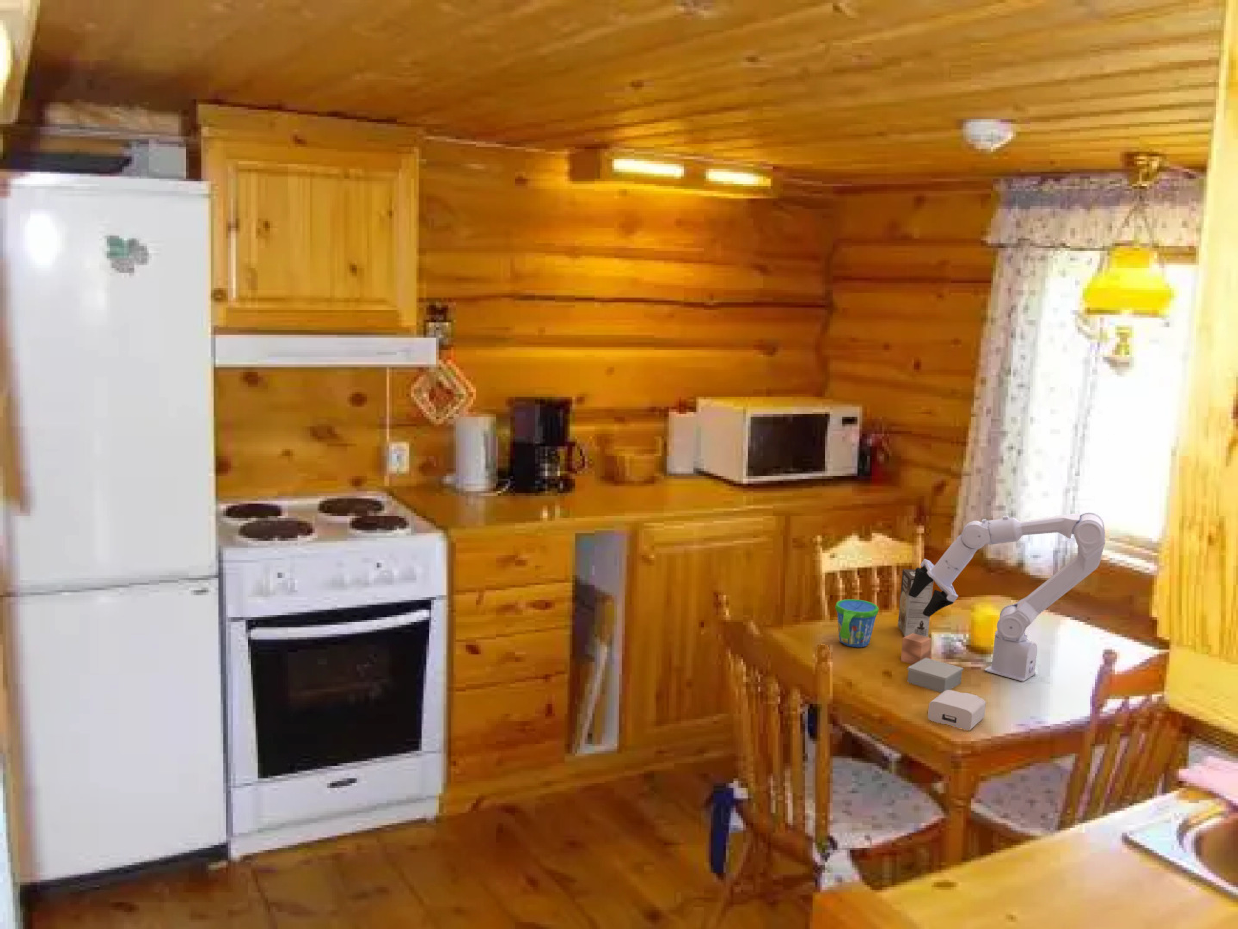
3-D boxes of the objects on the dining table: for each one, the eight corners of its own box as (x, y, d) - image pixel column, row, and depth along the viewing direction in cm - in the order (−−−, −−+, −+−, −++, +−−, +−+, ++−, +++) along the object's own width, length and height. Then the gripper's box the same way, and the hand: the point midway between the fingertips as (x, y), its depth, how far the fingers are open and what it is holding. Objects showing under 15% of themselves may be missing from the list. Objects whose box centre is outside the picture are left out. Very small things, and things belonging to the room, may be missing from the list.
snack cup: (859, 656, 274) (862, 616, 272) (820, 646, 281) (823, 607, 279) (886, 641, 286) (889, 603, 284) (849, 631, 293) (852, 594, 291)
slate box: (961, 684, 259) (963, 668, 258) (944, 695, 252) (945, 678, 251) (924, 673, 265) (925, 657, 264) (906, 683, 258) (907, 667, 257)
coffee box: (896, 626, 299) (901, 568, 296) (920, 627, 299) (925, 569, 296) (904, 637, 290) (909, 578, 287) (929, 638, 290) (934, 579, 287)
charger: (993, 711, 243) (970, 733, 231) (952, 700, 249) (927, 721, 237) (995, 691, 243) (972, 711, 231) (954, 680, 248) (929, 700, 236)
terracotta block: (929, 661, 273) (931, 638, 271) (919, 666, 269) (921, 643, 268) (910, 656, 276) (912, 633, 275) (900, 661, 272) (903, 637, 271)
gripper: (926, 541, 273) (893, 583, 278) (955, 576, 261) (920, 619, 266) (946, 549, 276) (914, 591, 281) (975, 585, 264) (941, 627, 269)
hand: (918, 605), depth 273 cm, fingers open, 7 cm apart
